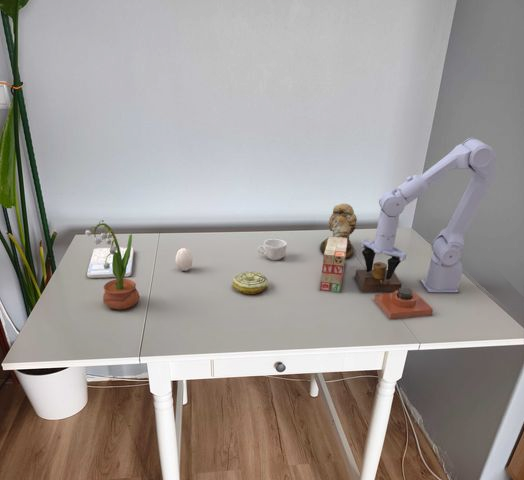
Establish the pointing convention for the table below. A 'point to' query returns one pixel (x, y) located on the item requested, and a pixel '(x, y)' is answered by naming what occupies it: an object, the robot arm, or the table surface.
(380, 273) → the dial
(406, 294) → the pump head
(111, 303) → the potted flower
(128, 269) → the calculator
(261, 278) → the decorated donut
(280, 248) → the teacup
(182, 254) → the egg
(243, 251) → the table surface
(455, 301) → the table surface
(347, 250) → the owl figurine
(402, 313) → the button base
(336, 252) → the stack of blocks
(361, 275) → the dial panel
